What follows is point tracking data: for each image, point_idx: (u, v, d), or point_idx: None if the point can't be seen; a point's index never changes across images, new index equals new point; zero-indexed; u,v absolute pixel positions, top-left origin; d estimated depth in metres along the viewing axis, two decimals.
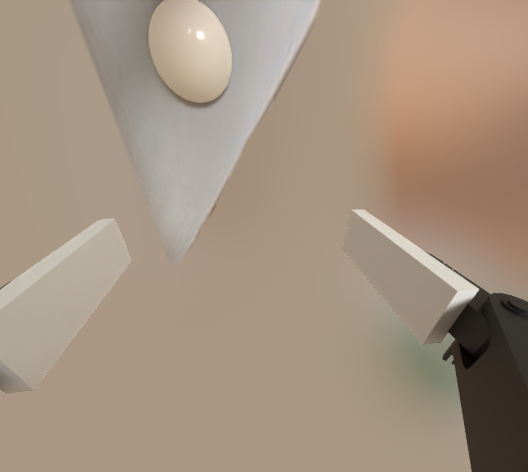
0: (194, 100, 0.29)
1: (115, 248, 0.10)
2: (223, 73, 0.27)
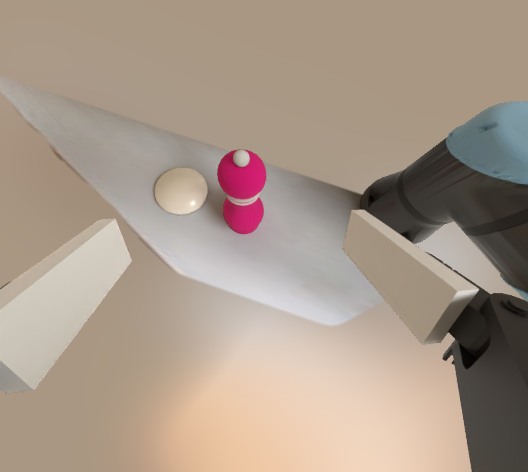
0: (158, 180, 0.40)
1: (115, 248, 0.10)
2: (166, 204, 0.38)
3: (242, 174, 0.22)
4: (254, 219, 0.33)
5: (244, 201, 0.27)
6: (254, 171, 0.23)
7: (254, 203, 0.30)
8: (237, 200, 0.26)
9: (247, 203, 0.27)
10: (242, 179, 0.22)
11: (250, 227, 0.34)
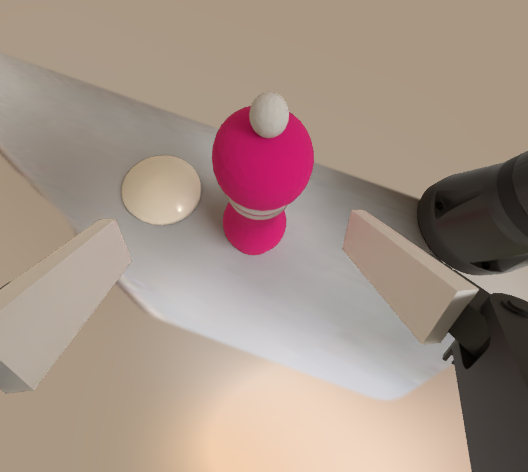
0: (129, 173, 0.27)
1: (115, 248, 0.10)
2: (138, 209, 0.26)
3: (269, 156, 0.10)
4: (274, 237, 0.20)
5: (264, 213, 0.14)
6: (296, 151, 0.10)
7: None
8: (250, 211, 0.14)
9: (268, 216, 0.15)
10: (269, 168, 0.10)
11: (265, 249, 0.22)
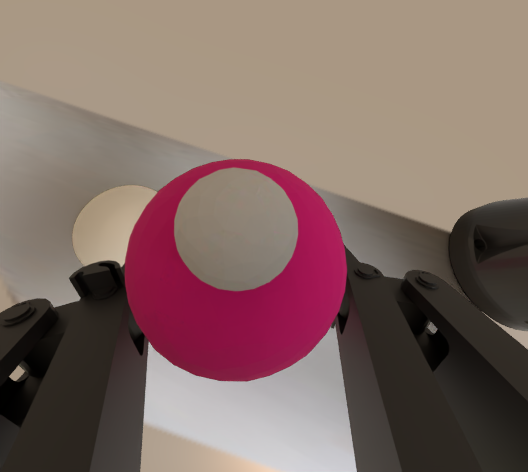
0: (83, 210, 0.21)
1: None
2: (94, 259, 0.20)
3: (245, 320, 0.04)
4: None
5: None
6: (314, 291, 0.04)
7: None
8: None
9: None
10: (244, 347, 0.04)
11: None
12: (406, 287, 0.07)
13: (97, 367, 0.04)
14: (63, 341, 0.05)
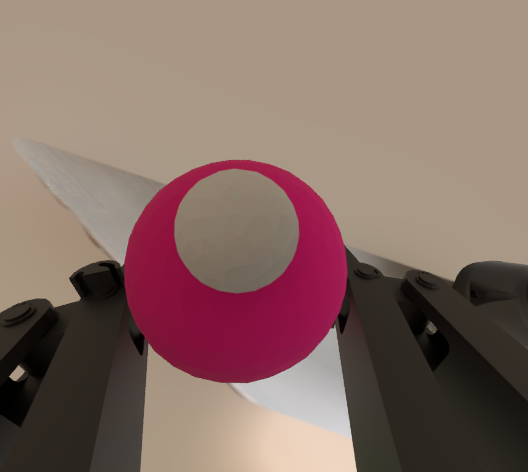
0: None
1: None
2: None
3: (245, 322, 0.04)
4: None
5: None
6: (315, 293, 0.04)
7: None
8: None
9: None
10: (245, 349, 0.04)
11: None
12: (406, 287, 0.07)
13: (97, 368, 0.04)
14: (63, 341, 0.05)
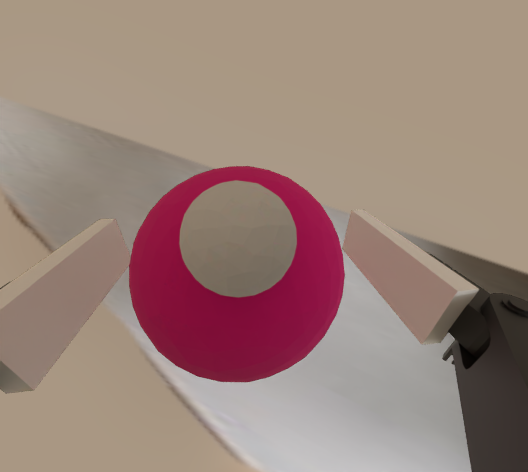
0: None
1: (115, 248, 0.10)
2: None
3: (245, 324, 0.04)
4: None
5: None
6: (312, 296, 0.04)
7: None
8: None
9: None
10: (245, 350, 0.04)
11: None
12: None
13: None
14: None
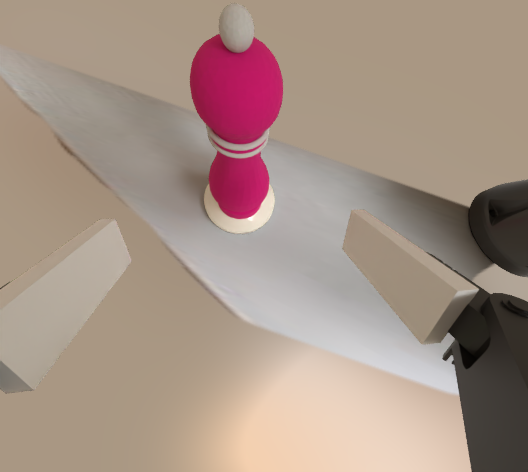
0: (208, 185, 0.29)
1: (115, 248, 0.10)
2: (221, 219, 0.27)
3: (238, 69, 0.11)
4: (256, 192, 0.22)
5: (241, 147, 0.15)
6: (263, 68, 0.11)
7: (257, 162, 0.19)
8: (229, 145, 0.15)
9: (246, 154, 0.16)
10: (238, 80, 0.11)
11: (249, 206, 0.23)
12: None
13: None
14: None
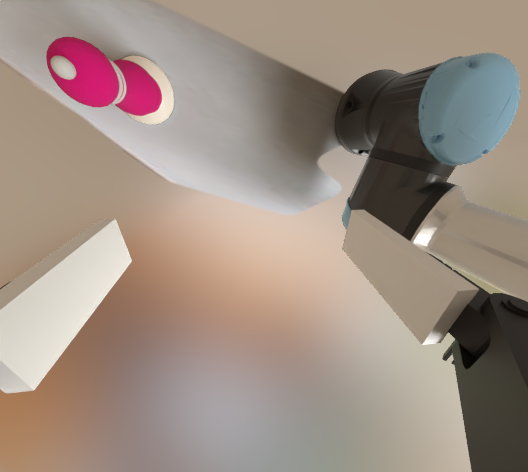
0: None
1: (115, 248, 0.10)
2: None
3: (78, 87, 0.21)
4: (143, 106, 0.31)
5: None
6: (91, 81, 0.21)
7: (130, 94, 0.28)
8: None
9: (115, 102, 0.26)
10: (81, 93, 0.21)
11: (145, 113, 0.33)
12: None
13: None
14: None
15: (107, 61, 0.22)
